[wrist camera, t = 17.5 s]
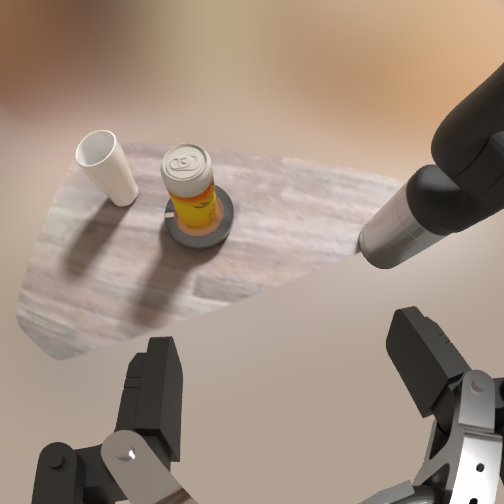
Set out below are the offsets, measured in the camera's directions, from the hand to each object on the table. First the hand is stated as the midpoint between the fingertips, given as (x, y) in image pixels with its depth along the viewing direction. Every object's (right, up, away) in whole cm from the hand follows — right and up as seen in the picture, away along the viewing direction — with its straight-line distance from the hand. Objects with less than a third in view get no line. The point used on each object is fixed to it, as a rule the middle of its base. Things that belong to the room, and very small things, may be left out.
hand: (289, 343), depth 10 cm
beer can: (-10, +9, +38) cm, 40 cm away
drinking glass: (-24, +14, +42) cm, 50 cm away
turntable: (-10, +9, +40) cm, 42 cm away
